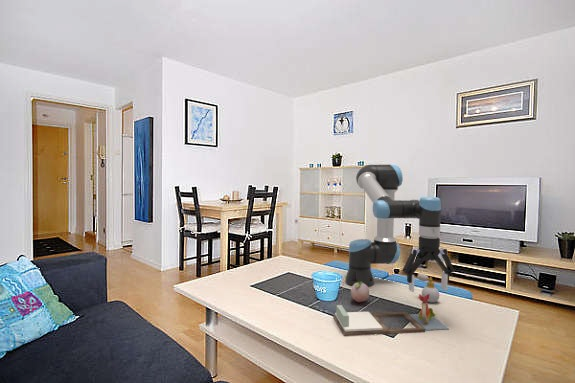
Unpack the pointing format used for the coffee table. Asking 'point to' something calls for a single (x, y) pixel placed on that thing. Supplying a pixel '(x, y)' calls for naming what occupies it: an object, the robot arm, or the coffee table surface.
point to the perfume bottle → (429, 288)
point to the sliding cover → (356, 320)
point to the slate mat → (429, 323)
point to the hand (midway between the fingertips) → (427, 290)
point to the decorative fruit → (360, 292)
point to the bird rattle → (425, 310)
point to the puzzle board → (385, 330)
